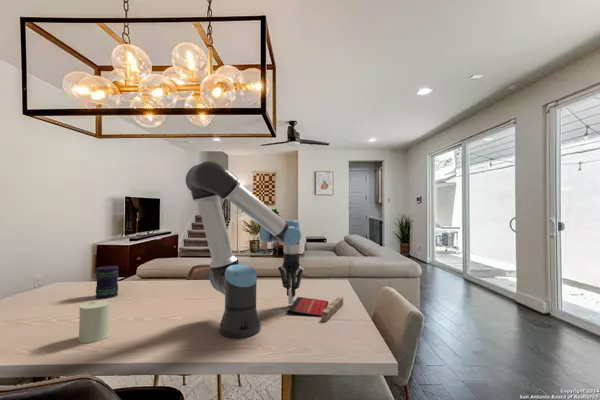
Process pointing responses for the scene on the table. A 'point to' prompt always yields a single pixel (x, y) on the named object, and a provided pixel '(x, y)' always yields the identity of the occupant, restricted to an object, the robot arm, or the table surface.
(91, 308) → the can
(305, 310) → the binder
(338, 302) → the rail
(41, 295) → the table surface
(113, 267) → the storage jar
